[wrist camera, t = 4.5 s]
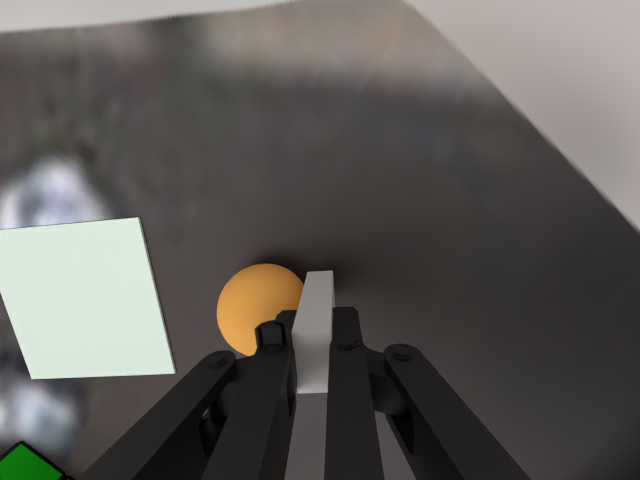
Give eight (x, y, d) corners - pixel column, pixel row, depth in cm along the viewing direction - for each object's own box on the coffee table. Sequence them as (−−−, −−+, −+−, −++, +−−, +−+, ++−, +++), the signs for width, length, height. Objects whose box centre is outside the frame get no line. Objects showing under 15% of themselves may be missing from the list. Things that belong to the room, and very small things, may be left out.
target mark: (139, 217, 20) (137, 217, 20) (176, 371, 23) (174, 373, 23) (-19, 231, 21) (-22, 231, 21) (34, 377, 24) (31, 379, 24)
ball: (325, 260, 17) (237, 290, 14) (332, 346, 18) (253, 394, 15) (273, 249, 21) (195, 270, 18) (281, 320, 22) (210, 352, 19)
